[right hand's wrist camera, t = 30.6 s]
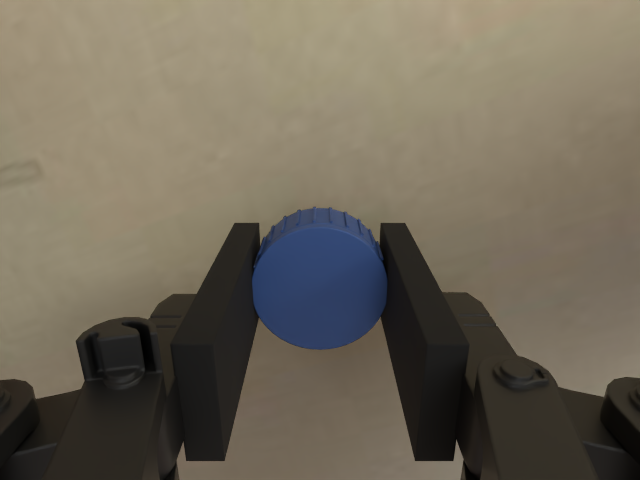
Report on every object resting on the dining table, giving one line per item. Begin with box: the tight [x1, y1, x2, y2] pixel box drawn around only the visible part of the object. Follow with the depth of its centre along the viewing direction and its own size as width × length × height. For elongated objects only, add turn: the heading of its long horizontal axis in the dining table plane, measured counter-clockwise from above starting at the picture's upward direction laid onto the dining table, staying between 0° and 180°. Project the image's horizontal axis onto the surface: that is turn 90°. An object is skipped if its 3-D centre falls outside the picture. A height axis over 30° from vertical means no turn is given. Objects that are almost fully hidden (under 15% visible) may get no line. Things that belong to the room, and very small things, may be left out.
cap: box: [252, 207, 387, 350], centre depth 14 cm, size 4×4×2 cm
